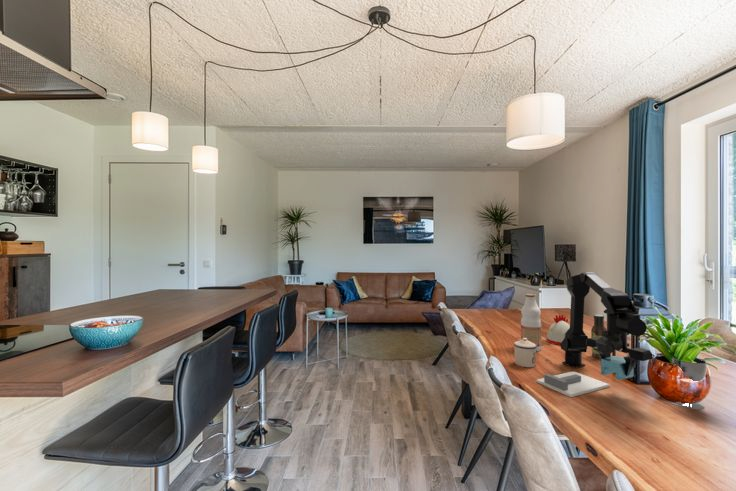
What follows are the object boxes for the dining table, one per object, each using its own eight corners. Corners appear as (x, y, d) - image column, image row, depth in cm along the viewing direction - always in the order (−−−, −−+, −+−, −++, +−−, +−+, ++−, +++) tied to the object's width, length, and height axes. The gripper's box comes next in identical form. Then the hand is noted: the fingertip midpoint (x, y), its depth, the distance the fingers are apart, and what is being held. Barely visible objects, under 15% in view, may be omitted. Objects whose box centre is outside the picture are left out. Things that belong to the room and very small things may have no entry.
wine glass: (700, 412, 103) (700, 365, 104) (668, 401, 111) (668, 357, 111) (710, 406, 107) (710, 360, 107) (679, 396, 114) (678, 353, 114)
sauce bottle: (594, 353, 160) (593, 313, 160) (609, 357, 155) (609, 315, 155) (589, 356, 156) (589, 314, 156) (605, 360, 151) (604, 317, 151)
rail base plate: (573, 373, 135) (573, 364, 135) (609, 386, 123) (609, 376, 123) (536, 382, 127) (536, 371, 127) (571, 397, 114) (571, 385, 114)
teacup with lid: (537, 369, 141) (537, 342, 141) (514, 366, 144) (513, 339, 144) (535, 360, 152) (535, 335, 152) (514, 357, 155) (513, 333, 155)
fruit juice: (529, 352, 163) (529, 296, 163) (517, 346, 172) (516, 293, 172) (545, 350, 165) (545, 295, 165) (532, 345, 174) (532, 292, 174)
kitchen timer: (541, 339, 186) (541, 312, 186) (563, 338, 188) (563, 312, 188) (558, 346, 172) (558, 318, 173) (582, 345, 174) (582, 317, 174)
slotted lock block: (615, 370, 121) (615, 355, 121) (633, 376, 115) (633, 360, 115) (601, 374, 118) (601, 358, 118) (619, 380, 112) (619, 364, 112)
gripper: (575, 324, 122) (576, 366, 122) (632, 337, 105) (633, 386, 105) (595, 322, 126) (595, 362, 126) (653, 333, 109) (653, 380, 109)
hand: (617, 372), depth 116 cm, fingers closed on slotted lock block, 6 cm apart
